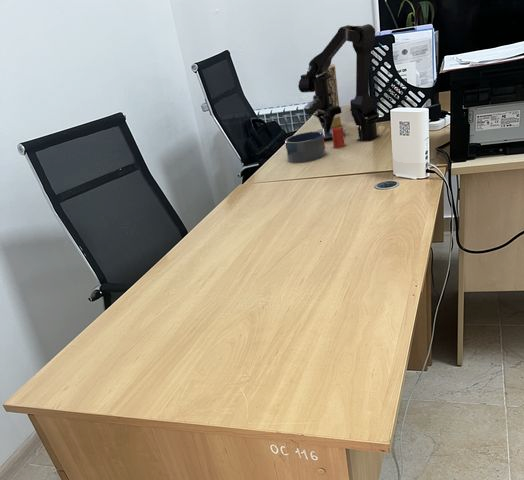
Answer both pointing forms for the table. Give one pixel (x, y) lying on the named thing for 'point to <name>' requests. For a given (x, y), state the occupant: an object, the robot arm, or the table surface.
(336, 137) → the cylinder
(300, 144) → the pot
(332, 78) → the paper tube
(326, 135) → the lid
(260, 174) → the table surface
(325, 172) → the table surface
